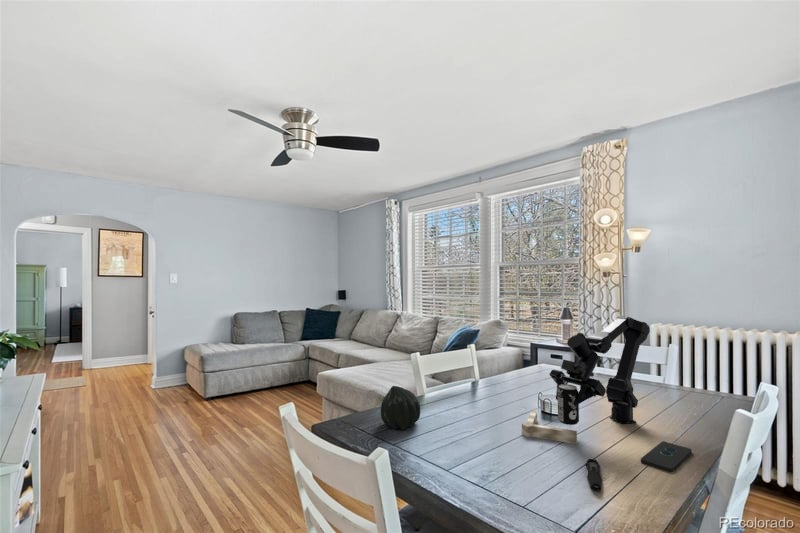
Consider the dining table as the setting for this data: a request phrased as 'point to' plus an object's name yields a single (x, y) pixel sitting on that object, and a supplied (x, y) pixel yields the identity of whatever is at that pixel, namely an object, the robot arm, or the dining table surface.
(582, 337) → the robot arm
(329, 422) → the dining table surface
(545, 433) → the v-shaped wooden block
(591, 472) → the electric trimmer
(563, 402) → the beverage can
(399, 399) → the squash
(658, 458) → the smart home device
